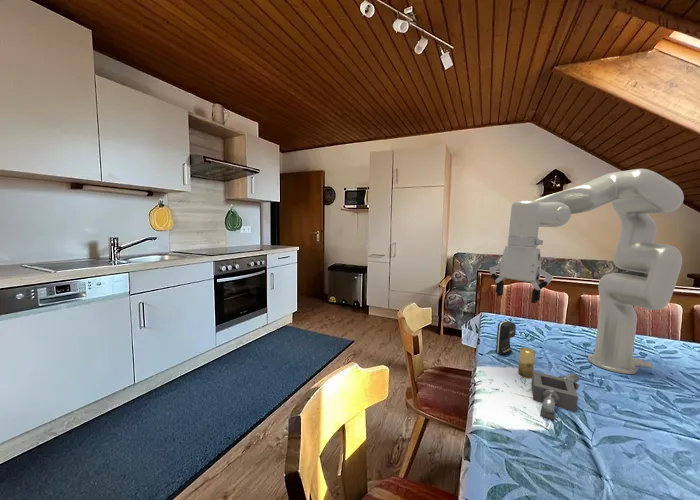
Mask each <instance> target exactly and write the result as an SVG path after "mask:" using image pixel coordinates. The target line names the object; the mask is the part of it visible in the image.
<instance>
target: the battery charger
mask: <svg viewBox="0 0 700 500" xmlns="http://www.w3.org/2000/svg"><path fill="white" fill-rule="evenodd" d="M496 330H497V331H496V344H495V353H497V354H499V355H504V356H506V355H508V354H510V353H512V352H513V349H512V347H511V344H510V343H511V338H514V337H516V333H517V332H516V330H517V325H516V323H514V322H513V321H510V320H503V321H500V322H499V323H498V325H497V329H496Z"/></svg>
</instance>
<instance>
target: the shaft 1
mask: <svg viewBox="0 0 700 500" xmlns="http://www.w3.org/2000/svg"><path fill="white" fill-rule="evenodd" d="M542 398H543V400H544V401H543V403H542V405H541V407H540V412H539V413H540V414H539V415H540V417H542V418H545V419H548V420H551V421H555V417H556V412H555V408H556V406H555V405H557V404H558V403H559V400H560V397H559V395H558V393H557V392H555V391H554V390H551V389H546V390H544V391H543V394H542Z"/></svg>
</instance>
